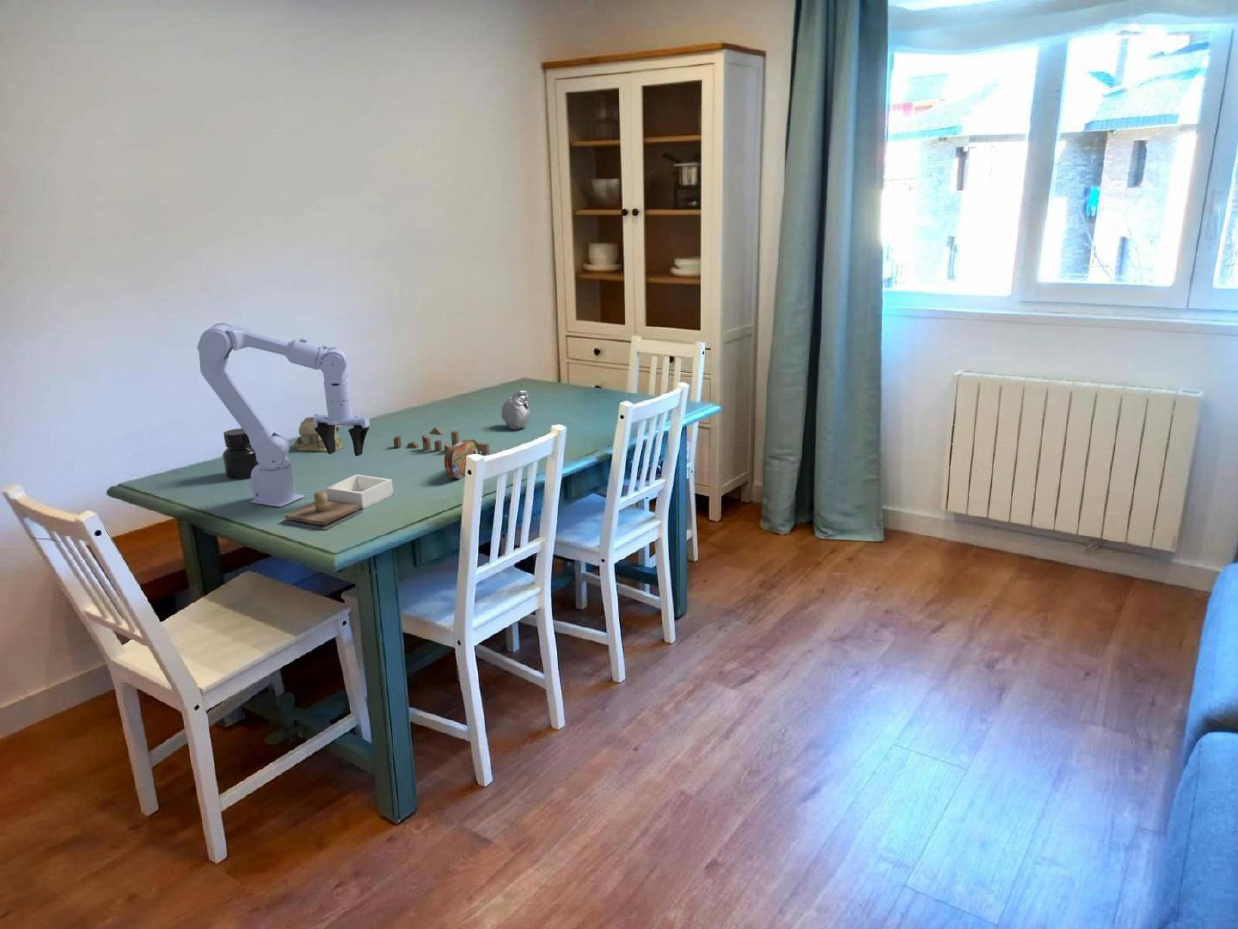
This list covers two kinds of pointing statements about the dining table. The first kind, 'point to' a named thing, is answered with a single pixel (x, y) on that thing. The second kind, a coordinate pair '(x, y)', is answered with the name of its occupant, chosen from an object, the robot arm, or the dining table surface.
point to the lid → (322, 510)
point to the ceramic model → (313, 437)
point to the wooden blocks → (439, 442)
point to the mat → (323, 527)
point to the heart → (516, 410)
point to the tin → (459, 457)
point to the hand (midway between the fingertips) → (345, 454)
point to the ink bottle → (238, 455)
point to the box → (360, 490)
